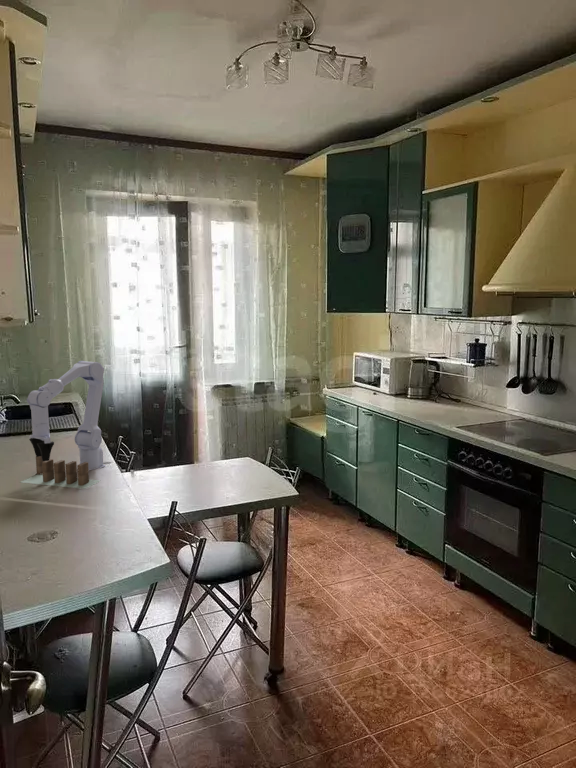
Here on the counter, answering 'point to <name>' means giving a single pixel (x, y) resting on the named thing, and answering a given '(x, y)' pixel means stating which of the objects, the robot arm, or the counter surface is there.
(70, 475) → the domino
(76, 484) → the board
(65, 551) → the counter surface
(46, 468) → the domino
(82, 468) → the domino end
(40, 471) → the domino
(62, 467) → the domino
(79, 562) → the counter surface
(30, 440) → the robot arm
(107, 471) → the counter surface
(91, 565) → the counter surface
